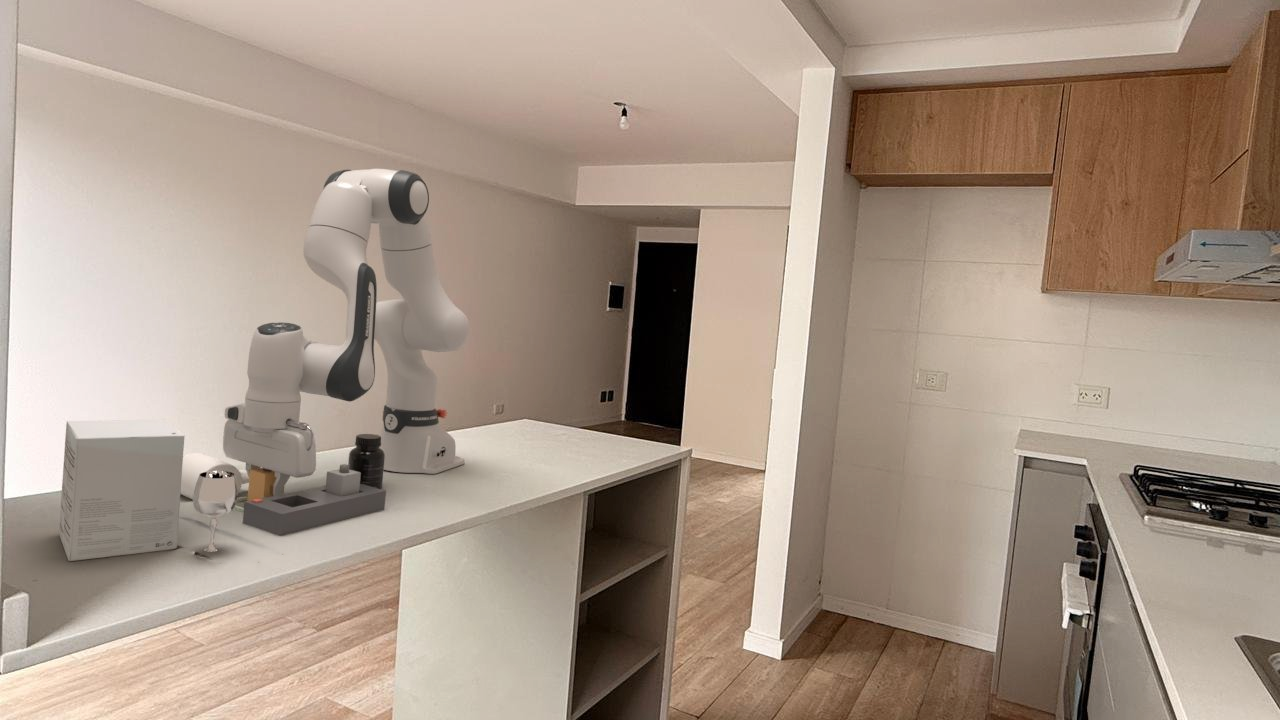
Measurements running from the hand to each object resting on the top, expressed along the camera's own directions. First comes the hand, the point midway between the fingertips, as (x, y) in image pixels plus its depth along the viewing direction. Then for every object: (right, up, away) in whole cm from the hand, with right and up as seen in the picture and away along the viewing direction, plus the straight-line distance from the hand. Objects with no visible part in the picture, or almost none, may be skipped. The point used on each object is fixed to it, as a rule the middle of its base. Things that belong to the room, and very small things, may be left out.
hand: (266, 491), depth 135 cm
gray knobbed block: (+13, -4, +2) cm, 13 cm away
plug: (0, -3, 0) cm, 3 cm away
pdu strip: (+10, -5, -3) cm, 12 cm away
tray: (0, -4, 0) cm, 4 cm away
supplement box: (-12, -4, -21) cm, 24 cm away
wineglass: (+2, -6, -21) cm, 22 cm away
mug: (-12, -2, +5) cm, 13 cm away
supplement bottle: (+11, -4, +18) cm, 21 cm away
